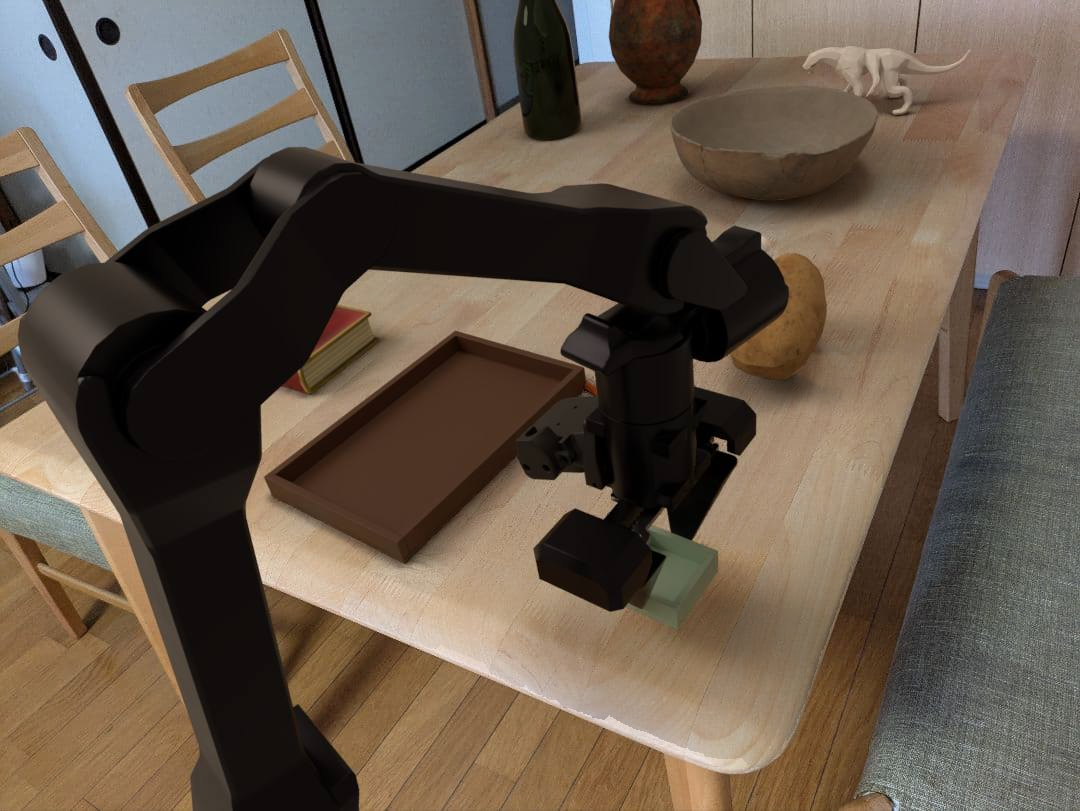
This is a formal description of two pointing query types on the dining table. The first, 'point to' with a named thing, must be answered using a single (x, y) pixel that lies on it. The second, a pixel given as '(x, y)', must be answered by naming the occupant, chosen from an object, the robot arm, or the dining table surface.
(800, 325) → the potato
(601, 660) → the dining table surface
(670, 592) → the celadon dish
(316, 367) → the book
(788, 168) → the bowl
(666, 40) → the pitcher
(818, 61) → the white dinosaur figurine
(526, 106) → the beer bottle
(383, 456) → the tray
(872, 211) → the dining table surface
